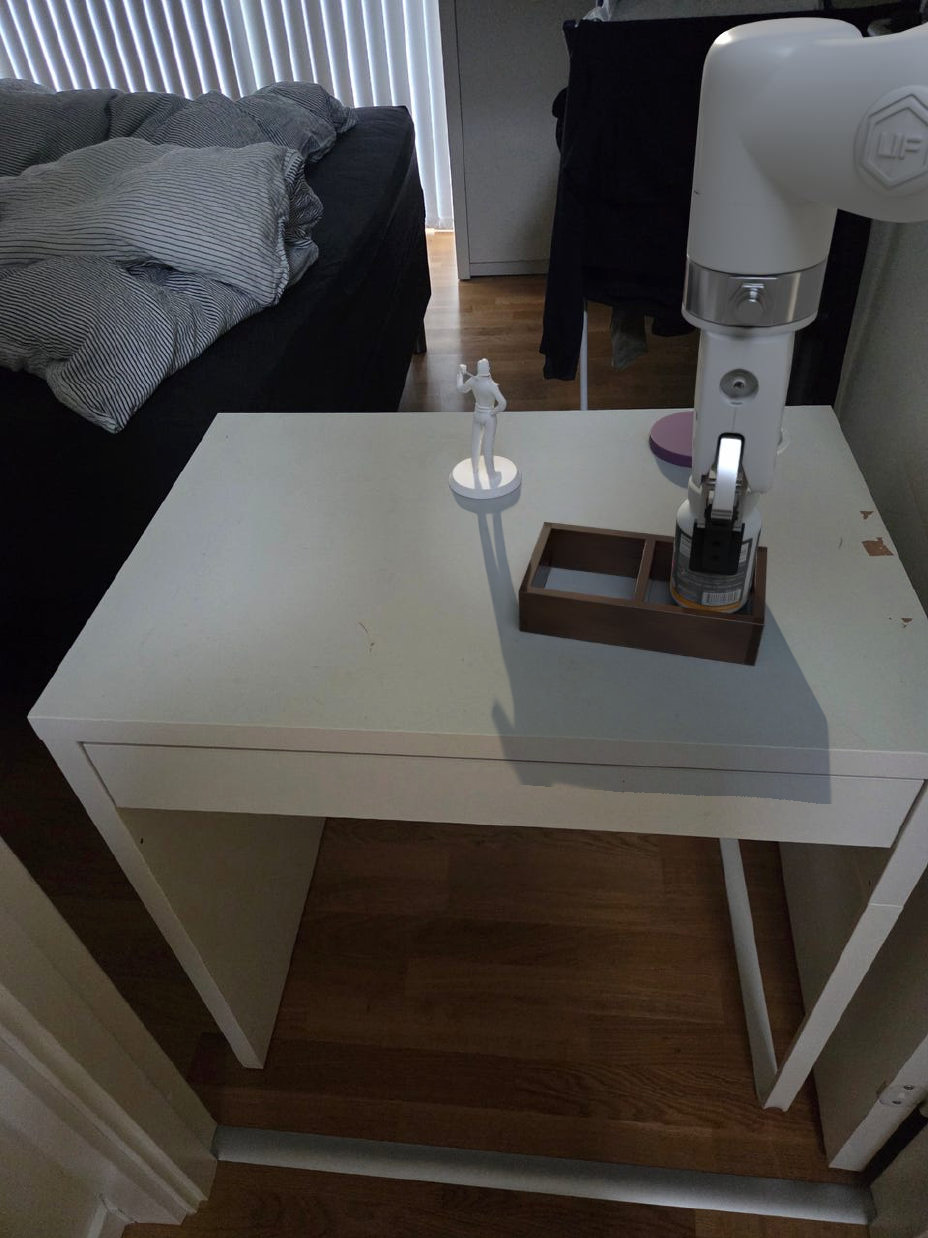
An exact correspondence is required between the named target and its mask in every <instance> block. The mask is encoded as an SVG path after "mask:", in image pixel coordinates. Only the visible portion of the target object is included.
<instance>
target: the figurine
mask: <svg viewBox="0 0 928 1238" xmlns="http://www.w3.org/2000/svg"><path fill="white" fill-rule="evenodd" d="M490 369H491V367H490V363H489V360H488V359H487V358H482V359H481V360H478V362H477V365H476V370H477V374H476V375H473V374H472V373H470V372H469V371H467V365H466V364H459V367H458V371H457V375H456V377H455V387H456V390H457V391H458V392H459V393H462V394H463V393H464V394H467V393H469V391H471V392H472V395H473V396H474V399H475V407H474V411H473V416H472V427H471V443H470V445H471V446H470V448H471V450H470V455H471V457H469V458H466V459H463V460H462V461H460V462H458V464H457V465H455V466H454V468H453V470H452V471H451V472H450V474H449V477H448V484H449V487H450V489H451V490H452V491H453V492H455V493H456V494H458V495H460V496H462V497H465V498H468V499H474V500H489V499H497V498H500V497H504V496H505V495H509V494H510V493H512V492H513V491H515V490H516V489H517V488H519V486H520V484H521V483H522V480H523V476H522V473H521V471H520V469H519V468H518V467H517V466H516V464H515V463H514V462H513V461H511V460H510V459H508V458H505V457H503V456H498V455H494V454H495V453H494V451H495V450H494V449H495V448H494V447H495V440H496V439H495V437H496V433H497V426H498V417H497V415H498V414H500V413H502V412H504V411H505V410H506V408H507V400H506V398H505V397H504V395H503V394H502V393H501V391H500V389H499V385H500V384H499V383H496V382H495V381H494V380H493V378H492V375H491V373H490ZM464 375H468V376H470V377H469V378H468V379H467V380H466V381H465V382H464ZM496 401H497V403H498V404H497V405H495V404H496ZM482 444H483V454H482V455H481V451H482Z"/></svg>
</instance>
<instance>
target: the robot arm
mask: <svg viewBox="0 0 928 1238" xmlns="http://www.w3.org/2000/svg"><path fill="white" fill-rule="evenodd" d="M700 85H701V86H700V96H699V107H698V108H699V109H698V118H697V119H698V121H697V131H696V132H697V133H696V142H695V144H696V145H695V154H694V166H693V177H692V188H691V189H692V190H691V200H690V211H689V225H688V236H687V247H686V257H685V270H684V279H683V291H682V305H681V314H682V317H683V318H684V319H685V321H687V322H688V323H689V324H691V325H693V326H694V327H696V328H698V329H700V335H699V344H698V346H699V347H698V354H697V355H698V356H697V364H696V365H697V366H696V375H695V376H696V378H695V388H694V404H693V411H694V417H693V444H692V467H691V475H692V482H693V483H694V485H695V486H696V487H698V488H699V489H700V487H702V491H701V499H700V507H699V515H698V519H694V525H693V534H692V542H691V551H690V560H689V569H690V570H691V571H693V572H701V573H710V574H720V575H729V576H733V575H736V574H737V572H738V566H739V560H740V554H741V548H742V542H743V536H744V529H745V523H742V520H743V513H744V506H745V500H746V493H747V490H748V484H749V487H750V490H751V492H760V494H761V495H764V494H767V493H768V492H769V491H771V489H772V488H773V482H774V475H775V468H776V462H777V455H778V450H779V444H780V437H781V432H782V426H783V420H784V413H785V407H786V402H787V396H788V395H787V394H788V389H789V385H790V384H789V383H790V379H791V378H790V376H791V371H792V362H793V357H794V356H793V355H794V347H795V336H796V331H799V330H801V329H803V328H804V329H805V328H806V327H807V326H809V325H811V323H812V322H814V321H815V319H816V318H817V316H818V311H819V305H820V301H821V295H822V290H823V285H824V280H825V274H826V269H827V264H828V260H829V254H830V249H831V244H832V239H833V235H834V234H833V233H834V228H835V223H836V219H837V214H838V209H839V210H842V211H845V212H847V213H848V212H849V213H852V214H854V215H858V216H862V217H865V218H869V219H873V220H878V221H882V222H889V223H900V224H901V223H903V224H905V223H906V224H908V223H909V224H910V223H918V222H925V221H928V21H927V22H925V23H923V24H920V25H917V26H914V27H912V28H909V29H906V30H904V31H900V32H895V33H891V34H885V35H877V36H867V37H864V36H863V35H862V32H861V30H859V29H858V27H856V26H855V25H853V24H852V23H849V22H846V21H844V20H840V19H835V18H824V17H789V18H777V19H776V18H775V19H767V20H760V21H754V22H750V23H745V24H740V25H737V26H735V27H732V28H730V29H728V30H726V31H724V32H723V33H722V34H720V35H719V36H718V37H717V38H716V39H715V40H714V41H713V43H712V44H711V46H710V48H709V50H708V52H707V54H706V56H705V60H704V64H703V70H702V78H701V84H700ZM710 468H711V471H717V473H716V478H709V474H710ZM742 472H743V475H742V480H737V474H738V473H742ZM710 491H714V496H713V504H710V503H709V506H708V501H709V493H710ZM735 493H737V499H736V506H733V505H734V497H735Z"/></svg>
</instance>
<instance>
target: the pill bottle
mask: <svg viewBox="0 0 928 1238" xmlns="http://www.w3.org/2000/svg"><path fill="white" fill-rule="evenodd" d="M716 473H717V471H711V468H710V474H709V478H716ZM742 475H743V472H742V473H738V474H737V480H742ZM701 491H702V487H700V489H699V488H698V487H696V486H695V485H694V483H693V482H692V474H691V475H690V476H689V479H688V483H687V491H686V492H687V493H686V496H687V499H686V500H685V501H684V502H683V503H682V504H681V505H680V507H679V509H678V511H677V514H676V517H675V518H676V519H675V530H674V537H675V538H674V550H673V560H672V571H671V582H669V584H670V585H669V589H670V594H671V597H672V599H673V600H674V601H675V603H676V604H677V605H678V606H679V607H687V608H694V609H702V610H709V611H717V612H724V613H732V614H734V613H735V612H737V611H739V610H740V609H742V608H743V607H744V606H745V604H747V600H748V596H749V592H750V588H751V583H752V577H753V571H754V566H755V560H756V555H757V550H758V546H760V545H759V544H760V540H761V539H760V538H761V534H762V527H763V516H762V513H761V511H760V509H759V507H758V503H759V501H760V494H761V492H751V490H750V487H749V484H748V490H747V493H746V500H745V506H744V513H743V520H742V523H745V529H744V536H743V542H742V548H741V554H740V560H739V566H738V572H737V574H736V575H733V576H729V575H720V574H710V573H701V572H693V571H691V570H690V569H689V560H690V551H691V542H692V534H693V525H694V519H698V515H699V507H700V499H701ZM713 496H714V491H710V493H709V501H708V506H709V503H710V504H713ZM736 499H737V493H735V497H734V505H733V506H736Z"/></svg>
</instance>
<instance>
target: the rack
mask: <svg viewBox="0 0 928 1238" xmlns="http://www.w3.org/2000/svg"><path fill="white" fill-rule="evenodd" d="M674 538H675V535H674V536H673V535H665V534H657V533H656V534H655V533H648V532H647V533H646V532H638V531H629V530H622V529H621V530H620V529H611V528H604V527H603V528H602V527H595V526H594V527H593V526H587V525H577V524H576V525H575V524H568V523H561V522H560V523H559V522H550V521H543V524H542V526H541V529H540V532H539V534H538V537H537V540H536V543H535V546H534V548H533V551H532V553H531V556H530V559H529V561H528V565H527V567H526V569H525V573H524V575H523V578H522V580H521V583H520V586H519V589H518V591H517V595H518V596H517V597H518V630H519V632H523V633H524V632H525V633H530V634H536V635H544V636H552V637H558V638H564V639H572V640H578V641H584V642H591V643H598V644H605V645H612V646H618V647H619V646H620V647H624V648H631V649H640V650H644V651H645V650H646V651H653V652H659V653H665V654H673V655H678V656H687V657H692V658H693V657H694V658H699V659H706V660H714V661H719V662H725V663H733V664H739V665H740V664H741V665H746V666H752V667H754V666H756V662H757V658H758V656H759V649H760V646H761V641H762V639H763V638H762V637H763V633H764V629H765V623H766V622H765V619H766V599H767V598H766V596H767V572H768V571H767V570H768V569H767V568H768V550H769V549H768V547H767V546H761V545H758V550H757V555H756V560H755V566H754V571H753V577H752V583H751V588H750V592H749V596H748V599H747V601H746V615H745V614H738V613H724V612H717V611H709V610H702V609H694V608H687V607H681V606H680V605H672V604H664V603H656V602H648V601H649V596H650V591H651V586H652V581H659V582H667V583H670V582H671V571H672V560H673V550H674ZM552 568H556V569H564V570H573V571H580V572H588V573H596V574H605V575H612V576H619V577H627V578H634V579H637V580H636V583H635V588H634V593H633V597H632V599H626V598H620V597H613V596H612V597H610V596H603V595H596V594H589V593H582V592H581V593H580V592H574V591H566V590H561V589H560V590H559V589H551V588H545V587H546V584H547V581H548V578H549V575H550V572H551V569H552Z"/></svg>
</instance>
